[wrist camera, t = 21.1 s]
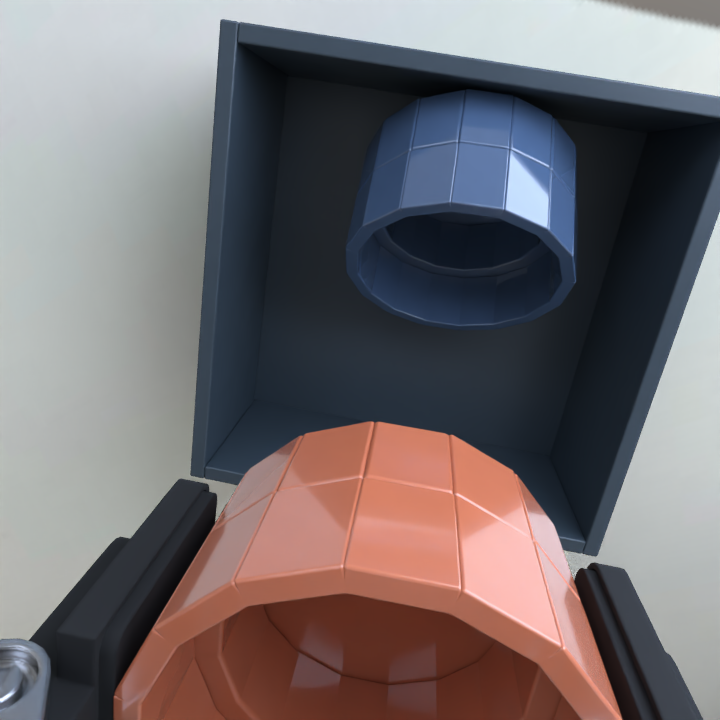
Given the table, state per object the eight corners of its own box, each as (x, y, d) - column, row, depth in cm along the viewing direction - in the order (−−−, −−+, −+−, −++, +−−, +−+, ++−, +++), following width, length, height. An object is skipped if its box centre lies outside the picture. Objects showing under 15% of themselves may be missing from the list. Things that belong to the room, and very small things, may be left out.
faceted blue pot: (328, 144, 20) (300, 254, 18) (503, 31, 15) (489, 165, 13) (448, 247, 24) (435, 345, 22) (614, 183, 19) (616, 301, 17)
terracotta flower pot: (159, 520, 12) (12, 711, 8) (426, 342, 10) (424, 467, 6) (353, 733, 13) (317, 997, 9) (623, 610, 11) (736, 870, 7)
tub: (245, 403, 26) (189, 476, 20) (279, 61, 21) (219, 18, 15) (556, 462, 25) (597, 557, 19) (660, 121, 21) (759, 102, 14)
